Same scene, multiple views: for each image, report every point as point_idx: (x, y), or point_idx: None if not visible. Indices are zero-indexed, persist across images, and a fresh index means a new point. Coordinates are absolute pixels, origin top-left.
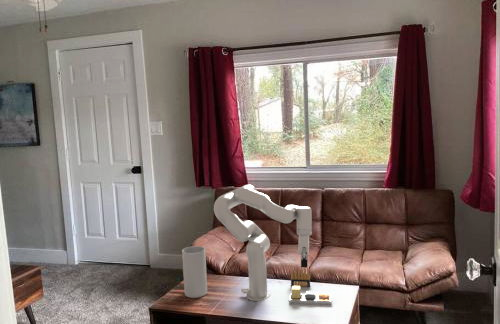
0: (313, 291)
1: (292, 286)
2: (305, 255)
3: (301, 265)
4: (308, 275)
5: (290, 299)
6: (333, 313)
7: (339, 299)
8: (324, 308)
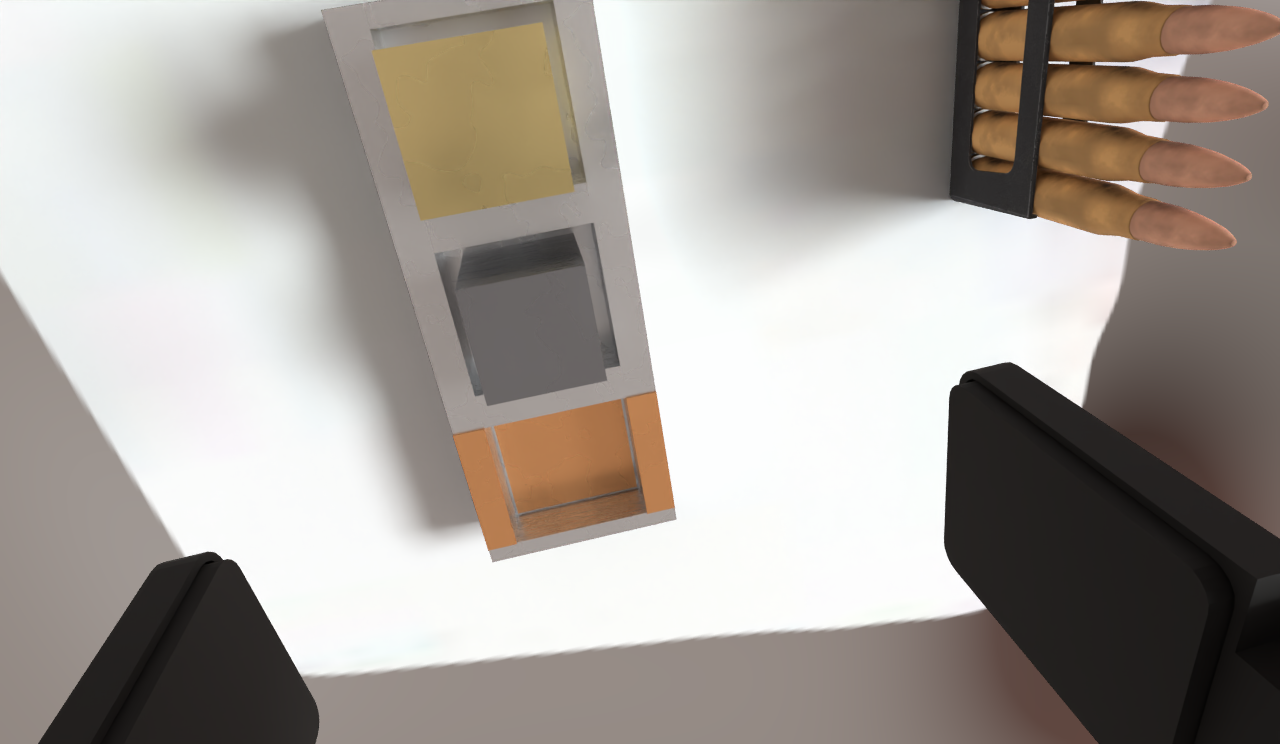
0: (586, 375)
1: (511, 36)
2: (1086, 668)
3: (141, 624)
4: (1084, 218)
5: (356, 30)
6: (347, 565)
7: (694, 549)
8: (434, 464)
